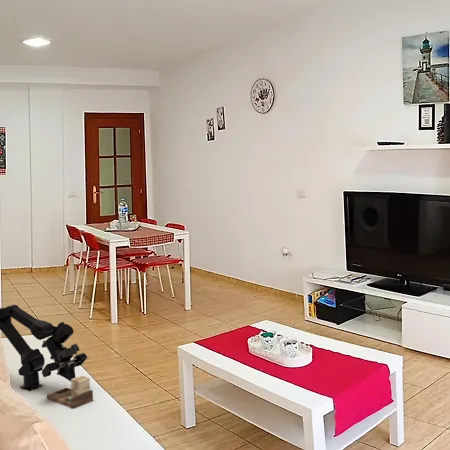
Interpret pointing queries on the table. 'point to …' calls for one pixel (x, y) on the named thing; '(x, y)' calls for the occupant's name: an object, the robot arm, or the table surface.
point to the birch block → (80, 385)
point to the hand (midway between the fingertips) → (74, 382)
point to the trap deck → (70, 398)
